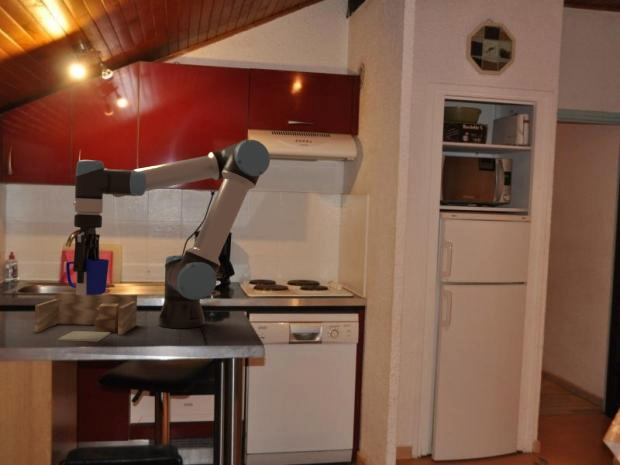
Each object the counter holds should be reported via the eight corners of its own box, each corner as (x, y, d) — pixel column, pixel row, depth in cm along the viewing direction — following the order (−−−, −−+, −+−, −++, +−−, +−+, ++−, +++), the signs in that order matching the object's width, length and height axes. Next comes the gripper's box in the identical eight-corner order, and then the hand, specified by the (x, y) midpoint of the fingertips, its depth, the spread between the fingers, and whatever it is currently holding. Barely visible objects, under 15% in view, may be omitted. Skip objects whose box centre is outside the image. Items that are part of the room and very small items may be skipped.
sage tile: (110, 334, 175) (110, 332, 175) (97, 341, 164) (97, 339, 164) (73, 333, 175) (73, 331, 175) (58, 340, 164) (58, 338, 164)
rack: (136, 325, 191) (137, 294, 191) (121, 334, 175) (122, 301, 175) (56, 322, 191) (56, 292, 190) (34, 332, 175) (35, 298, 175)
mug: (72, 291, 174) (73, 257, 174) (112, 292, 174) (113, 259, 173) (59, 294, 166) (60, 259, 166) (101, 296, 165) (102, 261, 165)
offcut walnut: (122, 328, 185) (122, 316, 185) (114, 332, 178) (114, 319, 178) (103, 328, 185) (103, 315, 185) (94, 332, 178) (95, 319, 178)
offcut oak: (118, 316, 185) (118, 303, 185) (115, 319, 179) (116, 306, 179) (102, 316, 184) (102, 303, 184) (98, 319, 178) (99, 306, 178)
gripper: (87, 214, 179) (85, 288, 179) (61, 212, 159) (59, 296, 160) (112, 214, 179) (109, 289, 179) (89, 213, 159) (86, 297, 160)
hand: (85, 292), depth 169 cm, fingers closed on mug, 7 cm apart
